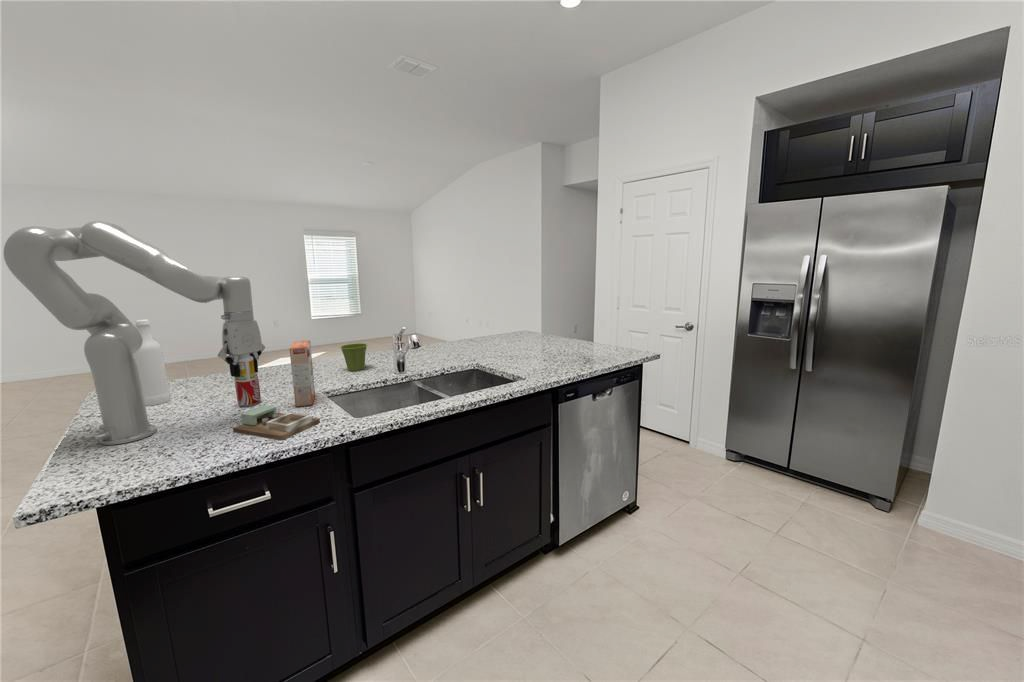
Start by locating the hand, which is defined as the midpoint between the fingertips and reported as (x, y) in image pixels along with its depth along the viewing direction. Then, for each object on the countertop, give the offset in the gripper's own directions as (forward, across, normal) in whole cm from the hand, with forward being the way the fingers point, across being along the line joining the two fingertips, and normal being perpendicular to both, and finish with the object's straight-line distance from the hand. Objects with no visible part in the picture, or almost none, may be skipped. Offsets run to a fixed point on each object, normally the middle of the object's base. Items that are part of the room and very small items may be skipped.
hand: (244, 373), depth 134 cm
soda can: (+15, +10, +12) cm, 22 cm away
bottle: (+16, +1, +47) cm, 50 cm away
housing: (+13, -3, -9) cm, 16 cm away
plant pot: (+13, +61, +9) cm, 63 cm away
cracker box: (+14, +19, -4) cm, 24 cm away
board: (+14, -3, -16) cm, 22 cm away
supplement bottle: (+2, 0, 0) cm, 2 cm away
